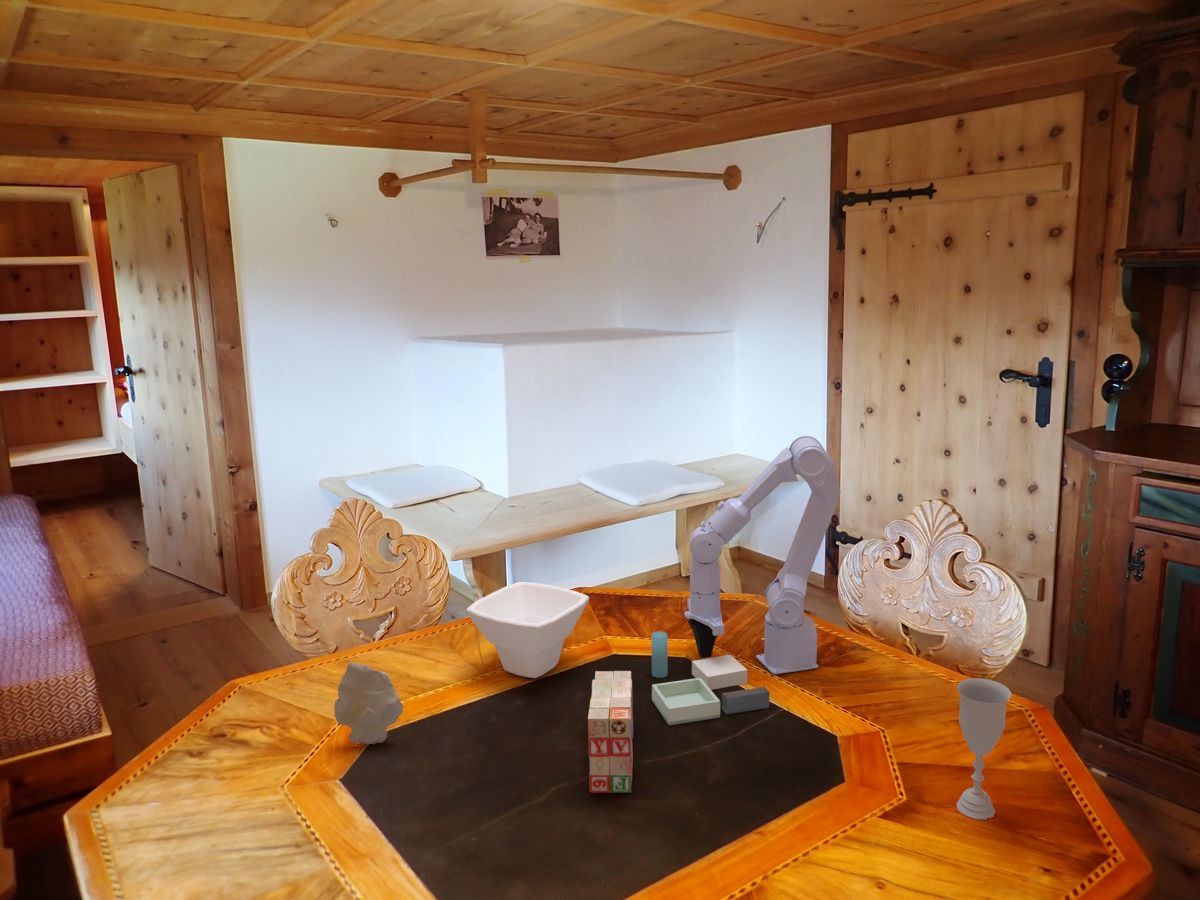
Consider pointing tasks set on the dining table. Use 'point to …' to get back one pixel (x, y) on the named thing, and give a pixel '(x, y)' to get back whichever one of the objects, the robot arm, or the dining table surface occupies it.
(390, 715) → the stone tool
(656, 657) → the dowel
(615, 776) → the stack of blocks
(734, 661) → the pale grey box
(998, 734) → the chalice
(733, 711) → the bench dog
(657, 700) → the tray
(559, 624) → the bowl
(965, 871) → the dining table surface
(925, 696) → the dining table surface
